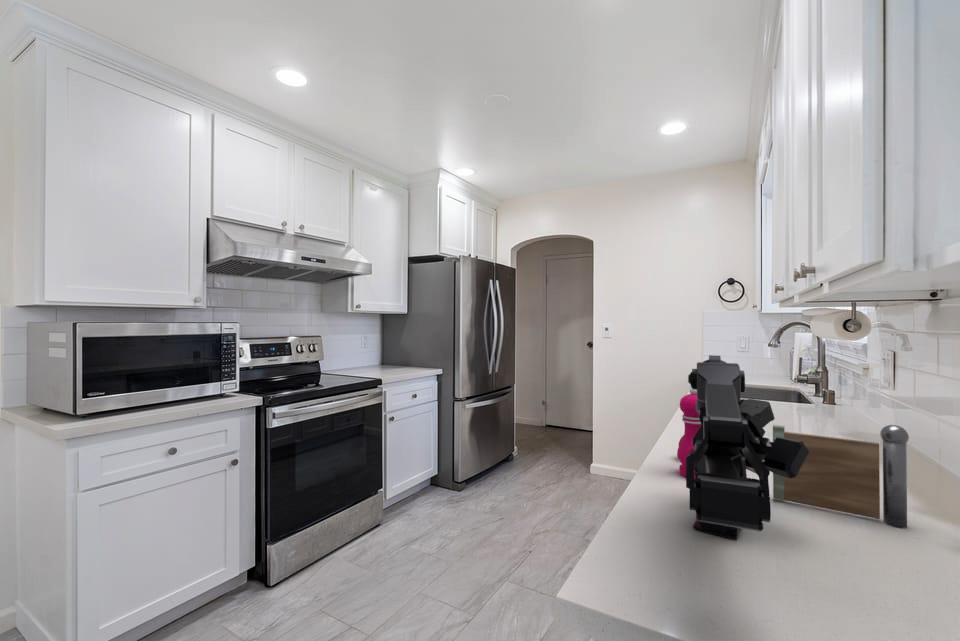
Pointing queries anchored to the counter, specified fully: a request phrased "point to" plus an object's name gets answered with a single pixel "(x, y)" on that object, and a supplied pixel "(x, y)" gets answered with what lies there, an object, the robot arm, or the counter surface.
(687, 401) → the pepper mill
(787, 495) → the gate
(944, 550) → the counter surface
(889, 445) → the gate post
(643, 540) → the counter surface
